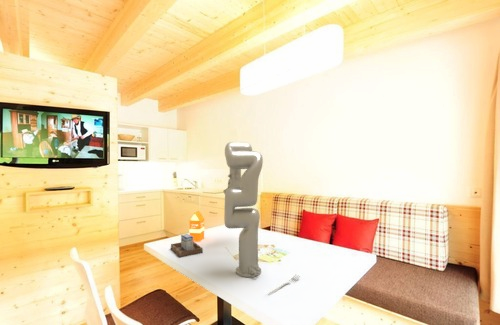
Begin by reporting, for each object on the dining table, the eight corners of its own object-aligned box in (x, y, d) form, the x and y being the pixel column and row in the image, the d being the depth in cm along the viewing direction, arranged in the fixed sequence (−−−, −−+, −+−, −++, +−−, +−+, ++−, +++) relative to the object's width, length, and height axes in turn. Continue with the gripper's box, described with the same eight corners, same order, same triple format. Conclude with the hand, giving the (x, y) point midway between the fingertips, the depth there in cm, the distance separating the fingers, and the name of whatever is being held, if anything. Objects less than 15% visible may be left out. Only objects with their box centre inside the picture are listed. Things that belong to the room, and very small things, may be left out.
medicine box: (180, 248, 159) (180, 234, 159) (187, 247, 162) (187, 233, 162) (186, 252, 153) (186, 237, 153) (193, 250, 156) (193, 236, 156)
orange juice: (204, 238, 184) (204, 210, 184) (199, 241, 176) (199, 212, 176) (194, 237, 186) (194, 210, 186) (189, 241, 177) (189, 212, 177)
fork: (260, 296, 103) (260, 292, 103) (295, 277, 120) (295, 273, 120) (266, 299, 101) (266, 295, 101) (301, 279, 118) (301, 276, 118)
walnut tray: (202, 253, 153) (202, 248, 153) (179, 257, 146) (179, 252, 146) (192, 245, 168) (192, 240, 168) (171, 248, 161) (171, 244, 161)
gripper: (226, 177, 160) (226, 204, 160) (249, 176, 170) (249, 202, 169) (221, 176, 167) (221, 202, 166) (243, 176, 176) (243, 200, 176)
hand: (235, 202), depth 168 cm, fingers open, 9 cm apart
